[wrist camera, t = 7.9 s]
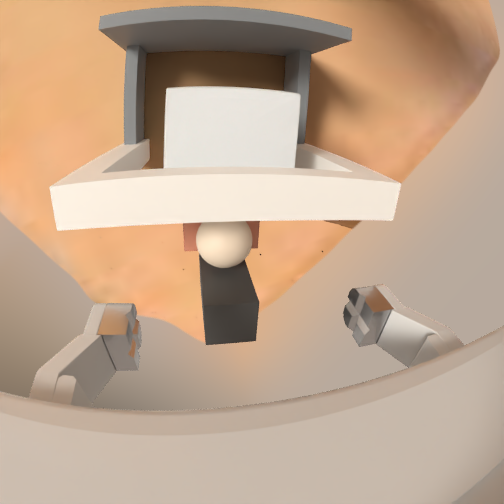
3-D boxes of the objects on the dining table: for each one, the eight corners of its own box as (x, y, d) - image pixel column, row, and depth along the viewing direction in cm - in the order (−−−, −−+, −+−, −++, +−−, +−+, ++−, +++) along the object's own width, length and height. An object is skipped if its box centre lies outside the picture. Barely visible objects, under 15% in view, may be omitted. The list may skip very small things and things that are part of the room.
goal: (131, 45, 19) (59, -19, 5) (300, 49, 22) (413, 9, 8) (129, 160, 25) (57, 230, 10) (292, 158, 28) (393, 220, 13)
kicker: (185, 173, 25) (178, 243, 13) (239, 172, 26) (284, 239, 14) (188, 239, 29) (189, 345, 16) (236, 237, 30) (271, 339, 17)
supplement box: (257, 98, 24) (307, 93, 13) (252, 172, 28) (293, 220, 17) (178, 96, 23) (164, 84, 12) (176, 172, 26) (163, 221, 15)
